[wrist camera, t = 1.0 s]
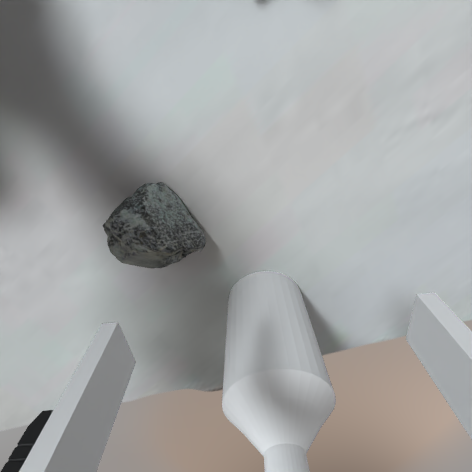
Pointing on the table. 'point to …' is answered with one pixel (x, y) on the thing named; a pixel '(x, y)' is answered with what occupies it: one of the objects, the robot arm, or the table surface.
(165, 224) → the stone
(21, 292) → the table surface
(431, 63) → the table surface
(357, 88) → the table surface
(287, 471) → the bottle
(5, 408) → the table surface
